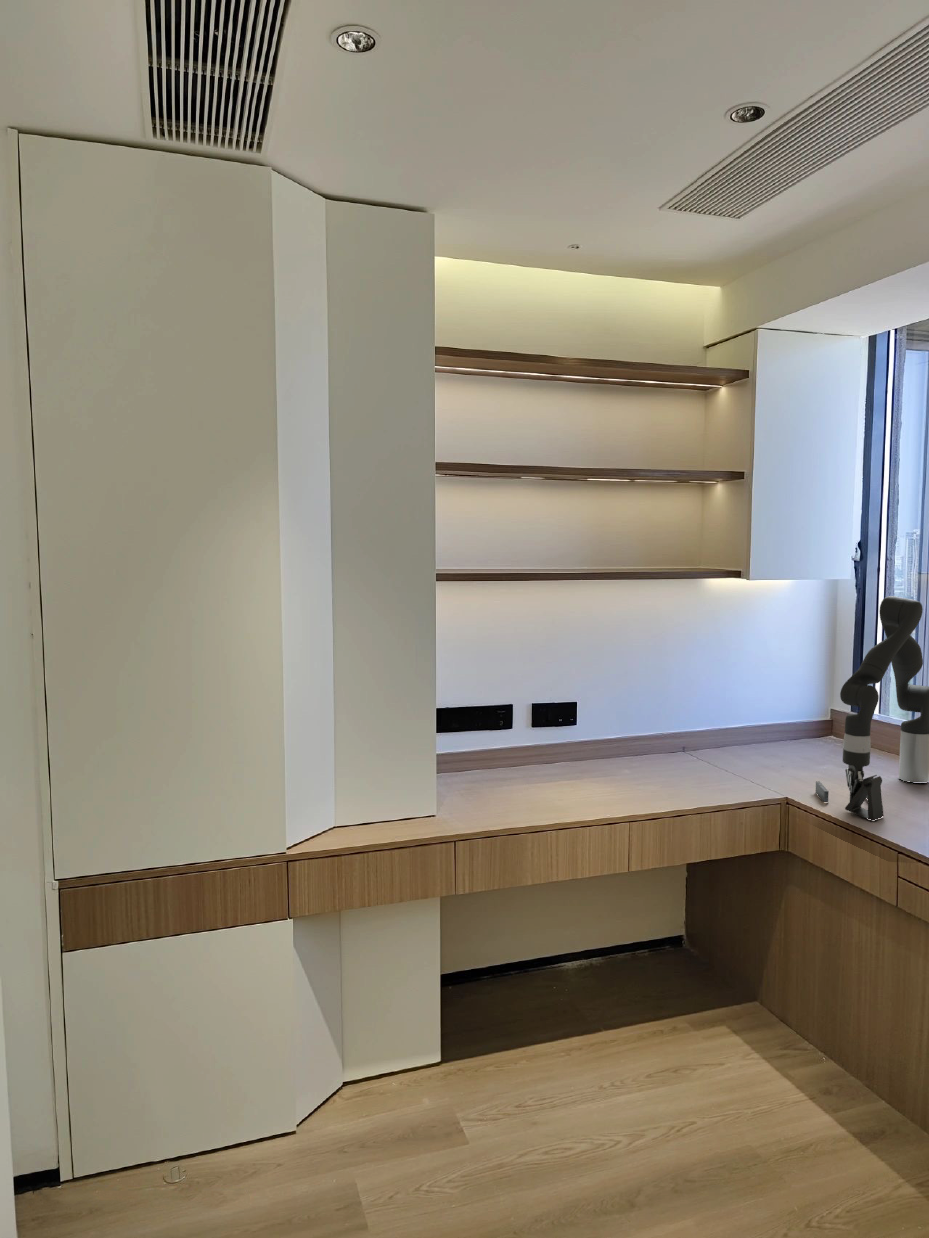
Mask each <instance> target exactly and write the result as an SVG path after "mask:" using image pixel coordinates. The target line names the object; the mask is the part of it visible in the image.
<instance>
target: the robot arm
mask: <svg viewBox="0 0 929 1238" xmlns="http://www.w3.org/2000/svg"><path fill="white" fill-rule="evenodd" d="M922 615H923V605H922V602H921V601H920V600H919V601H918V600H916V599H912V598H907V597H900V596H895V595H889V596H886V597H884V598H883V599H882V601H881V602H880V606H879V618H880V619H879V620H880V622H881V625H882V628H883V631H884V634H885V637H886V638H885V639H884V640H882V641H880V642H879V643H877V644H875V645H874V646H873V647H872V648H871V649H869V651H868V652H867V653H866V655H865V656H864V658H863V660H862V662H861V663H860V666H859V668H858V669H857V670H856V671H855V672H854V673H853V674H852V675H851V676H850V677H849V678H848V679H847V680H846V681H845V683H843V685H842V687H841V689H840V693H839V697H840V700H841V702H842V703H843V704H845V705H847V706H851V707H857V708H859V711H858V713H850V714H847V715H846V717H845V719H844V720H845V723H844V736H843V741H842V742H843V745H842V746H843V747H842V763H843V764H845V765H847V766H848V767H847V768H846V769H845V778H846V782H847V783H846V785H847V787H848V791H849V802H850V801H851V799H852V798H853V797H854V796H855V794H856V793H857V792H858V790H859V789H860V788H861V786H862V781H863V780H864V779H865V778H864V777H865V771H864V769H863V768H864V767H868V766H870V763H871V762H870V761H871V744H872V742H871V729H872V728H871V726H872V720H873V718H874V714H875V712H876V709H877V706H878V703H879V698H880V695H879V692H878V689H877V688H876V687H875V686H872V685H873V684H874V685H875V684H879V683H880V682H881V681H882V680H883V678H884V677H885V674H886V672H887V670H888V668H889V666H890V664H891V666H892V671H893V676H894V681H895V691H896V702H897V705H898V708H899V709H900V710H902V711H906V712H911V713H912V712H913V713H919V714H920V716H919V717H916V718H913V719H908V720H905V721H902V722H901V724H900V742H899V744H900V745H899V762H898V764H899V765H898V779H899V778H900V779H902V780H903V781H902V782H904V781H910V782H927V781H929V685H928V686H927V685H918V684H910V681H911V680H912V679H913V678H914V677H915V676H916V675H917V674H918V673H919V672H920V671H921V670H922V668H923V665H924V659H923V658H924V657H923V653H922V647H921V646H920V644H919V643H918V641H917V640H916V639H915V638H914V637H913V636H912V633H914V631H915V629H916V628H917V626H918V624H919V623H920V621H921V619H922Z"/></svg>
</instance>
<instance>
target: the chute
mask: <svg viewBox="0 0 929 1238" xmlns="http://www.w3.org/2000/svg"><path fill="white" fill-rule="evenodd" d="M816 793H817V794H818V796H819V797H820V798H821V799H822V800H823V802H828V803H829V790H828V789H827V788H826V786H824V785H823V783H822V782H821V781H820V780H819V781H818V780H817V781H816V780H815V794H816ZM817 794H816V795H817ZM818 796H817V797H818ZM819 797H818V798H819ZM820 798H819V799H820ZM866 798H867V799H868V795H867V797H866ZM821 799H820V800H821ZM822 800H821V801H822ZM823 802H822V803H823Z"/></svg>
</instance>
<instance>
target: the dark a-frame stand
mask: <svg viewBox="0 0 929 1238" xmlns="http://www.w3.org/2000/svg"><path fill="white" fill-rule="evenodd" d="M863 779H864V780H863V781H862V786H861V788H860V789H859V790H858V792H857V793H856V794H855V796H854V797H853V798H852V799H851V801H850V800H849V802H848V803H847V805H846V806H845V807H844V810H846V811H848V812H850V813H853V814H854V815H857V816H859V817H861V818H863V819H865V818H868V819H871V820H875V819H878V818H881V817H882V816H884V815H885V814H884V806H883V797H882V796H883V795H882V789H881V785H882V783H883V778H882V777H881V776H880V775H879V776H877V774H874V775H872V776H871V775H870V776H869V777H865V778H863ZM867 795H868V801H867V809H866V808H864V807H862V805H863V803H864V802H865V800H866V797H867ZM884 817H885V816H884Z"/></svg>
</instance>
